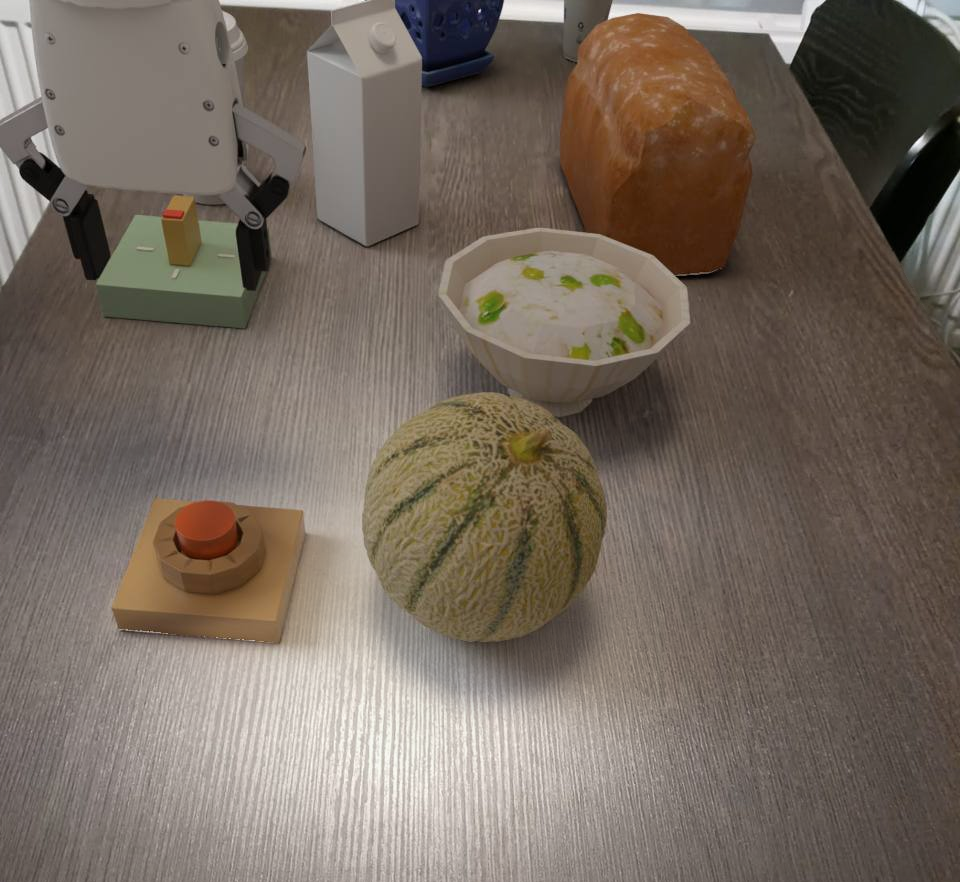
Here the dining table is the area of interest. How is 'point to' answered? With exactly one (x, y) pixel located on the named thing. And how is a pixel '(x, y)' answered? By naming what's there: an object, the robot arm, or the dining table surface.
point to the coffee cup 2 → (581, 22)
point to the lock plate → (177, 278)
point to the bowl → (562, 312)
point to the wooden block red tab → (181, 230)
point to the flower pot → (450, 35)
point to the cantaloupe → (484, 517)
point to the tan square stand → (213, 577)
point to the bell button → (206, 530)
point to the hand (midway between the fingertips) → (176, 274)
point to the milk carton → (366, 122)
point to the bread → (656, 143)
